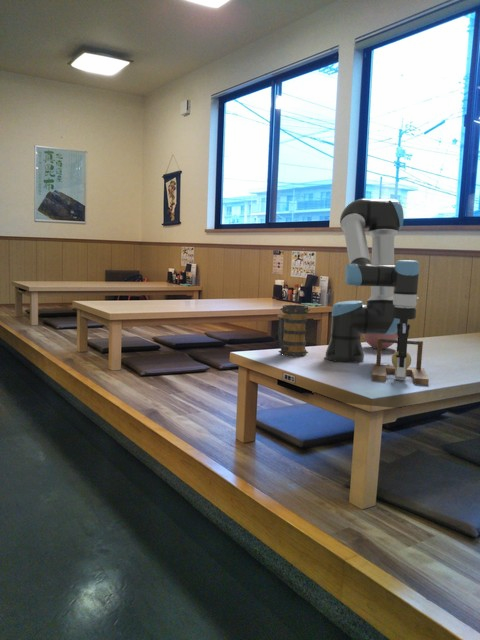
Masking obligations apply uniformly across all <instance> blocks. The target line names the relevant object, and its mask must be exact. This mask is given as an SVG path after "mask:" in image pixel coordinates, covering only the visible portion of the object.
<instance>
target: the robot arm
mask: <svg viewBox="0 0 480 640" xmlns="http://www.w3.org/2000/svg"><path fill="white" fill-rule="evenodd" d="M339 225H340V228H341V231H342V232H343V233H344V238H345V244H346V245H345V246H346V250H347V258H348V261H349V263H348V264H346V266H345V271H344V281H345V283H346V285H349V286H355V287H370V297H369V298H367V300H366V304H364V303H363V301H362V300H346V301H338V302H336V303H334V304H333V305H332V311H331V329H330V340H329V343H328V346H327V348H326V351H325V359H326V360H329V361H333V362H339V363H362V362H363V361H364V360H365V359H364V358H365V354H364V350H363V345H362V342H361V339H362V338H361V337H362V334H383V335H386V334H395V333H396V332H397V335H398V337H397V340H398V341H397V343H396V352H397V351H398V355H396V357H397V372H396V376H397V377H405V367H406V357H407V353H408V344H407V341H408V338H409V337H410V335H409V331H410V328H411V325H410V323H409V322H408V320H415V319H416V317H417V315H416V314H417V307H416V306H417V301H419V299H420V297H418V290H419V289H418V288H419V287H418V286H419V277H420V263H419V261H418V260H409V259H407V260H406V259H399V260H396V262H395V236H397V235H398V234H399V230H401V229H402V228H403V226H404V209H403V205H402V204H401V202H400V201H399V200H397V199H390V198H386V199H385V198H384V199H381V198H379V199H377V198H376V199H375V198H359V199H355V200H354V201H353V200H352V202H350V203H348V205H347V206H345V208H344V209H343V211H342V212H341V214H340V219H339ZM365 229H368V235H369V236H370V237H371V238H372V240H371V255H370V252H369V251H370V250H369V245H368V241H367V237H366V231H365ZM370 256H371V257H370Z"/></svg>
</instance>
